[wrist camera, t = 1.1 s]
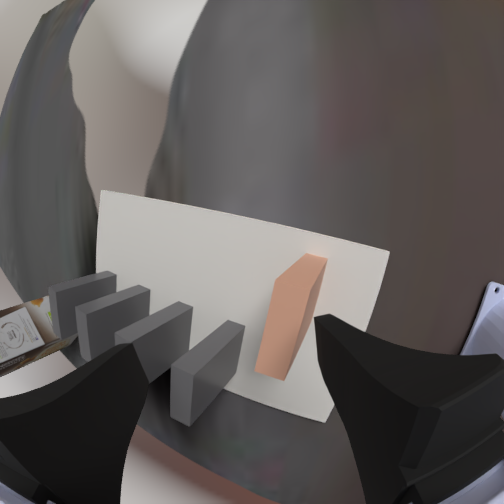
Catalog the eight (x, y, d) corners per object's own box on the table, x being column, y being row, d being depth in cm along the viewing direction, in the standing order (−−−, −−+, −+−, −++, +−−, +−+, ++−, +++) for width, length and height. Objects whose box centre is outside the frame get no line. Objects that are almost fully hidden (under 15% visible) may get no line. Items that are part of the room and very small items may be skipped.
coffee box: (66, 287, 32) (-28, 316, 17) (86, 327, 32) (-9, 367, 17) (52, 313, 36) (-25, 341, 21) (69, 347, 35) (-7, 382, 20)
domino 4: (245, 325, 22) (193, 375, 15) (236, 372, 23) (189, 427, 16) (227, 319, 22) (171, 364, 15) (220, 366, 23) (170, 416, 16)
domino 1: (116, 274, 27) (55, 292, 19) (116, 316, 28) (61, 339, 20) (107, 270, 27) (48, 286, 20) (107, 310, 28) (53, 332, 21)
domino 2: (150, 289, 25) (86, 314, 18) (149, 333, 26) (92, 365, 19) (138, 284, 26) (75, 306, 18) (137, 327, 27) (81, 356, 19)
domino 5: (327, 258, 19) (310, 289, 11) (310, 322, 20) (284, 381, 13) (306, 252, 19) (275, 279, 12) (291, 316, 20) (254, 371, 13)
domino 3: (193, 306, 23) (130, 342, 16) (188, 352, 25) (134, 395, 17) (178, 301, 24) (114, 332, 17) (175, 346, 25) (119, 385, 18)
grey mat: (388, 251, 18) (389, 252, 17) (325, 419, 21) (325, 422, 21) (104, 190, 26) (101, 190, 26) (100, 320, 30) (97, 322, 29)
